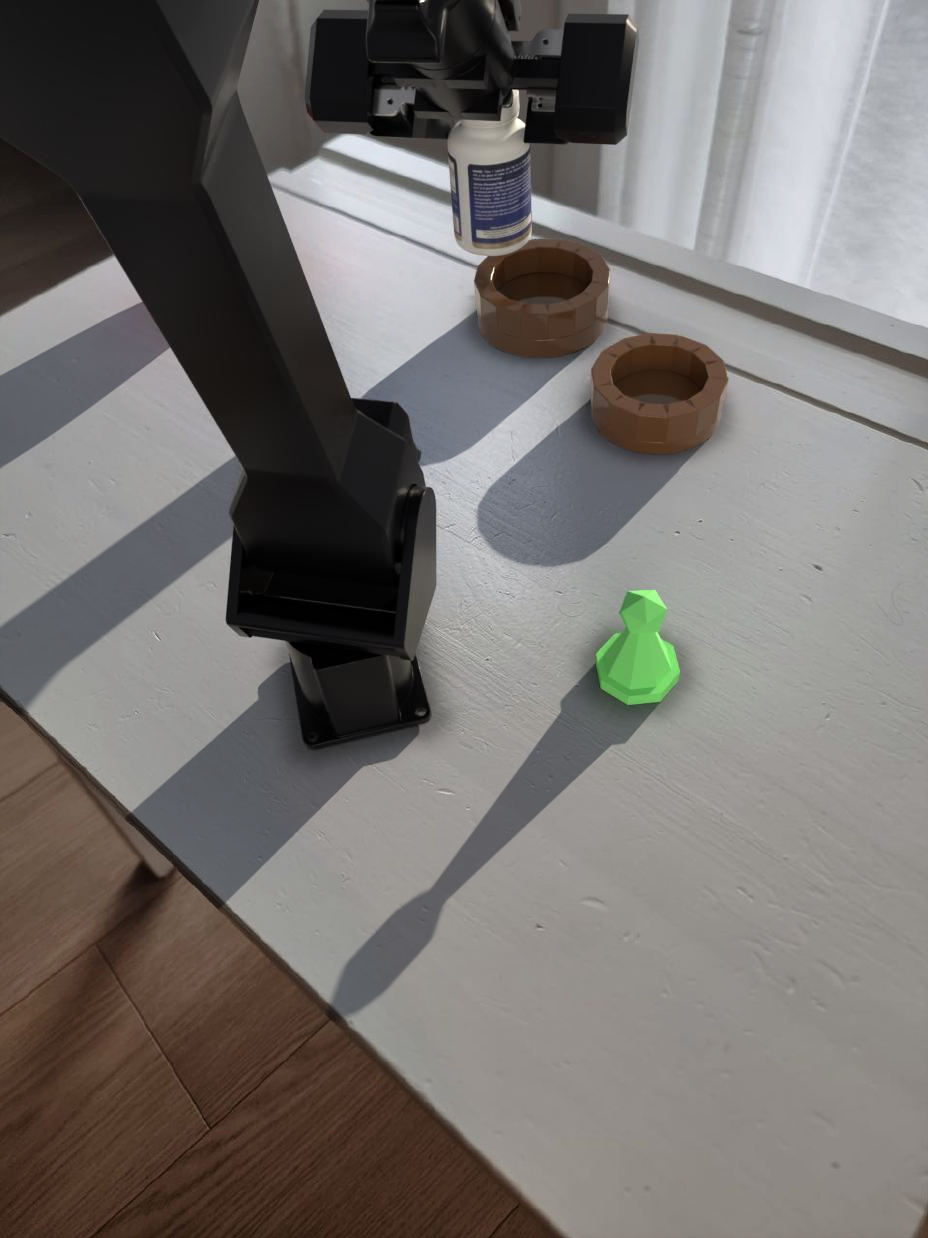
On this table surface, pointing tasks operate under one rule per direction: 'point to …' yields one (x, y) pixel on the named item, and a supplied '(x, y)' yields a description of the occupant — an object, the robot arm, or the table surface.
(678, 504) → the table surface
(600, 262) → the stand
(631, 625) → the game piece
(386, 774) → the table surface
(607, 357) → the small stand
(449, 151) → the pill bottle
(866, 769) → the table surface
